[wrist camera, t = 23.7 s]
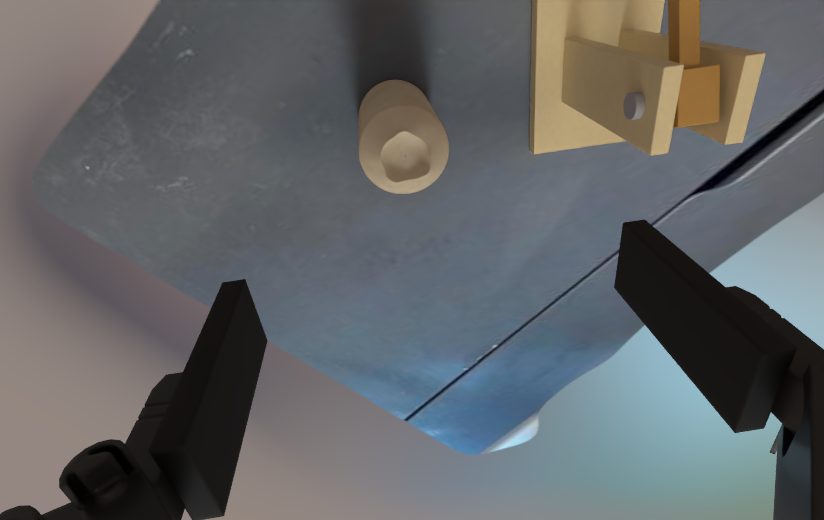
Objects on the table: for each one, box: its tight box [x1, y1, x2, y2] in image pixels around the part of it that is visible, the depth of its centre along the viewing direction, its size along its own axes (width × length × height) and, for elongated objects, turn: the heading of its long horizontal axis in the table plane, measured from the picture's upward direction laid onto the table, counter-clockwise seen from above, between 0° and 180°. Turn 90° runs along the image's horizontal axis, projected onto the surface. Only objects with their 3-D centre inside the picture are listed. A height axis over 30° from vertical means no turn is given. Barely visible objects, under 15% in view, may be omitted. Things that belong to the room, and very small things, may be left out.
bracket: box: [529, 0, 766, 155], centre depth 29 cm, size 12×9×14 cm
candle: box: [359, 80, 449, 194], centre depth 32 cm, size 6×6×10 cm
